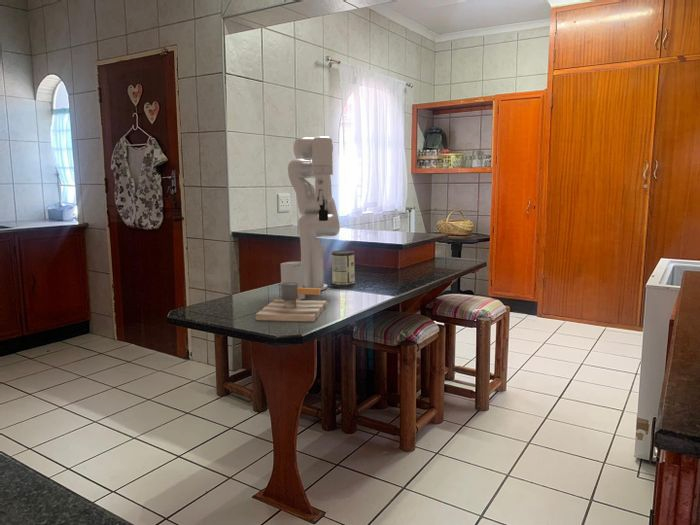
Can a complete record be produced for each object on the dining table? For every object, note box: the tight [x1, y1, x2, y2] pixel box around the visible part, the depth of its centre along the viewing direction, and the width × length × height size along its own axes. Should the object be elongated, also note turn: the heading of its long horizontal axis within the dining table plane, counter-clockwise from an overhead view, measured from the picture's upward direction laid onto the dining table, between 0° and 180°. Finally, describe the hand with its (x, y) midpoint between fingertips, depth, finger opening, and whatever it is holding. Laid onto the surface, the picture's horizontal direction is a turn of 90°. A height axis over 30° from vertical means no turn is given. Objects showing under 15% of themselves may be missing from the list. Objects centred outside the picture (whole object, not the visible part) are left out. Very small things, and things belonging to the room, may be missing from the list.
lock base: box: [255, 299, 328, 323], centre depth 191 cm, size 22×20×5 cm
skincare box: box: [280, 261, 306, 300], centre depth 211 cm, size 8×6×15 cm
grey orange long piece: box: [280, 282, 322, 300], centre depth 189 cm, size 14×6×5 cm, turn 78°
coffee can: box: [331, 249, 356, 286], centre depth 244 cm, size 10×10×14 cm
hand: (323, 220), depth 203 cm, fingers closed
